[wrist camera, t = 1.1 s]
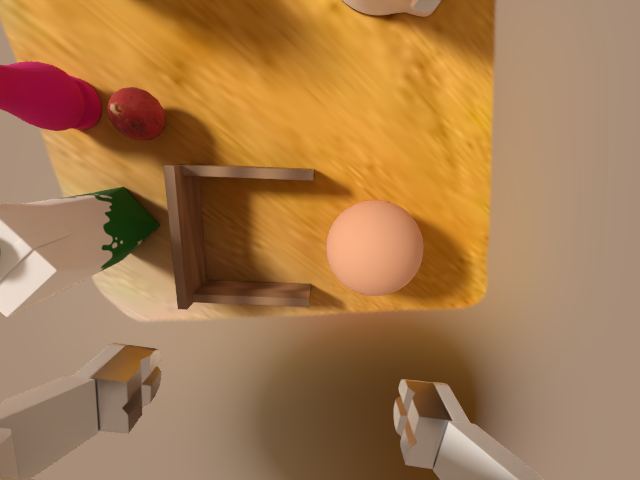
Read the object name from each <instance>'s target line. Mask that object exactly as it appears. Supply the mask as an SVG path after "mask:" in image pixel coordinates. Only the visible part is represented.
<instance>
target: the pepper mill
mask: <svg viewBox="0 0 640 480" xmlns="http://www.w3.org/2000/svg"><path fill="white" fill-rule="evenodd" d="M0 109H2V110H5V111H7V112H9V113H11V114H13V115H15V116H17V117H18V118H20V119H21V120H23V121H25V122H27V123H29V124H32V125H34V126H37V127H40V128H43V129H48V130H54V131H60V130H66V129H69V128H73V129H88V128H91V127H93V126H94V125H95V124H96V123H97V122H98V120H99V119H100V115H101V102H100V99H99V97H98V95H97V93H96V91H95V90H94V89H93V88H92V87H91V86H90V85H89V84H88V83H87V82H85V81H83V80H81V79H78V78H75V77H72V76H69V75H68V74H67V73H66V72H64V71H62V70H61V69H59V68H57V67H55V66H53V65H49V64H45V63H40V62H19V63H15V64H11V65H0Z"/></svg>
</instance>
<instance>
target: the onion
mask: <svg viewBox="0 0 640 480" xmlns="http://www.w3.org/2000/svg"><path fill="white" fill-rule="evenodd" d="M107 111H108V115H109V119H110V120H111V122H112V124H113V125H114V127H115V128H116V129H117V130H119V131H120V132H121V133H122V134H123V135H125V136H127V137H130V138H132V139H135V140H152V139H153V138H155V137H157V136H159V135H160V133H161V132H162V130H163V129H164V124H165V116H164V111H163V108H162V106H161V105H160V103H159V102H158V100H157V99H156V98H154V97H153V96H152V95H151V94H150V93H148V92H147V91H144V90H141V89H138V88H134V87H131V88H123V89H120V90H119V91H117V92H115V93H114V94H113V95H112V96H111V98H110V100H109V102H108V108H107Z"/></svg>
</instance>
